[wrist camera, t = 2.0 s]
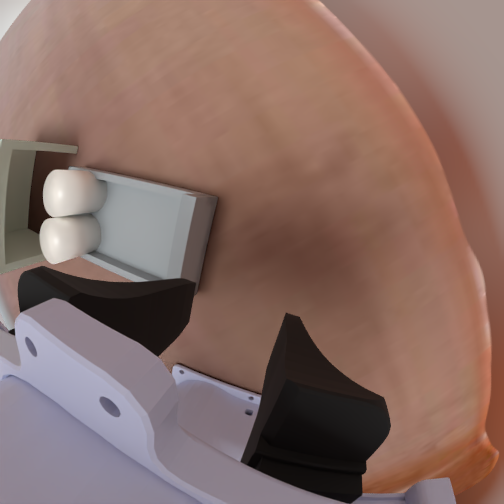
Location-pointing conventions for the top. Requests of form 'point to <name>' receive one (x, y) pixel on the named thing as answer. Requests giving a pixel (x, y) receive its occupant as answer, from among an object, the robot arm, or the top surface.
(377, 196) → the top surface
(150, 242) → the tray
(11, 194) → the block
